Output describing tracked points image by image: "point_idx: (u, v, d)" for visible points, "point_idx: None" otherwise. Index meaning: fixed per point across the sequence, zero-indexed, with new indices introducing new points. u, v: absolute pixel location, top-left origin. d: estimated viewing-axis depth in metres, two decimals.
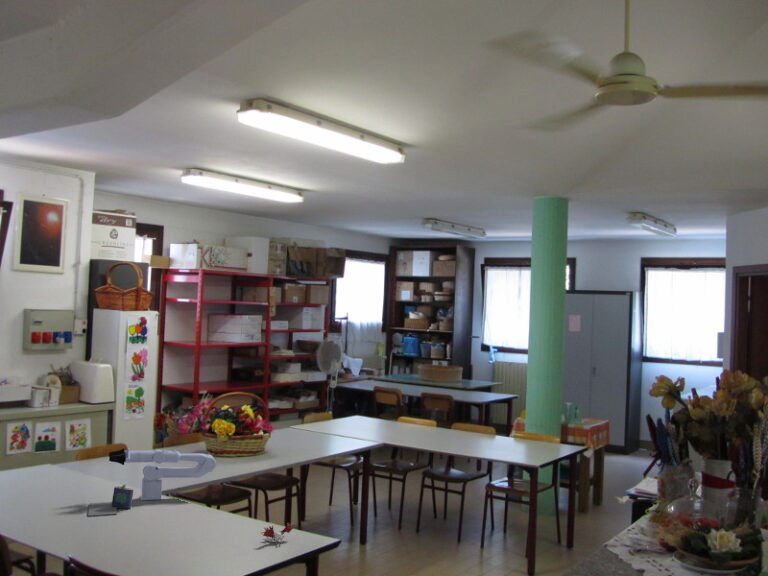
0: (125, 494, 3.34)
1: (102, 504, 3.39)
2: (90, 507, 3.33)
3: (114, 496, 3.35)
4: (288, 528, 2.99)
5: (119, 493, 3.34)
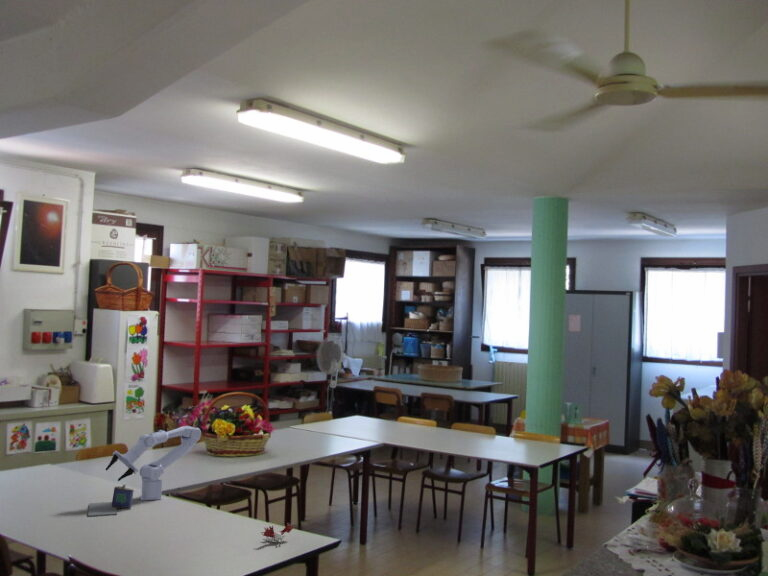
0: (125, 494, 3.34)
1: (102, 504, 3.39)
2: (90, 507, 3.33)
3: (114, 496, 3.35)
4: (288, 528, 2.99)
5: (119, 493, 3.34)
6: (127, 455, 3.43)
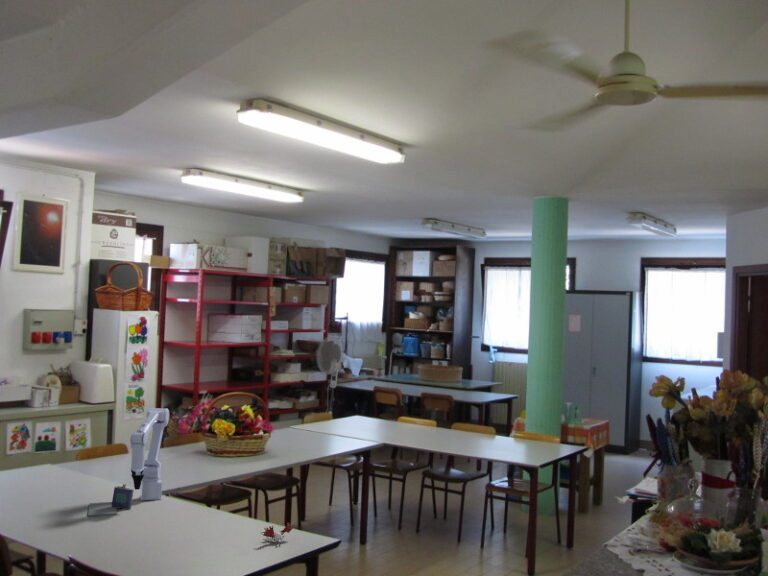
0: (125, 494, 3.34)
1: (102, 504, 3.39)
2: (90, 507, 3.33)
3: (114, 496, 3.35)
4: (288, 528, 2.99)
5: (119, 493, 3.34)
6: (143, 465, 3.38)
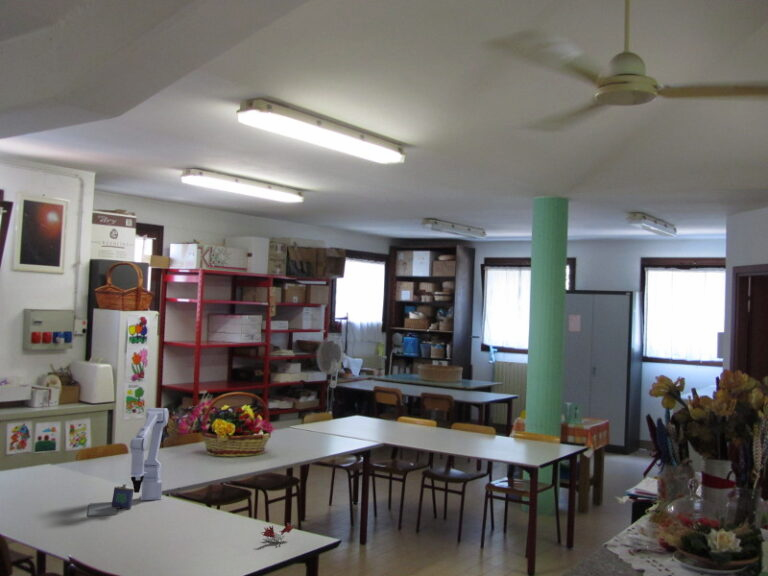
0: (125, 494, 3.34)
1: (102, 504, 3.39)
2: (90, 507, 3.33)
3: (114, 496, 3.35)
4: (288, 528, 2.99)
5: (119, 493, 3.34)
6: (143, 470, 3.38)
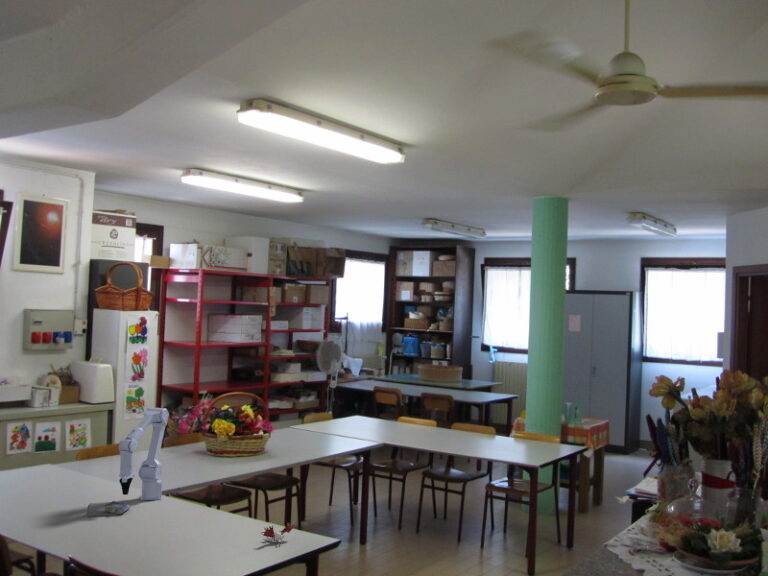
0: None
1: (102, 504, 3.39)
2: (90, 507, 3.33)
3: None
4: (288, 528, 2.99)
5: None
6: (131, 472, 3.36)
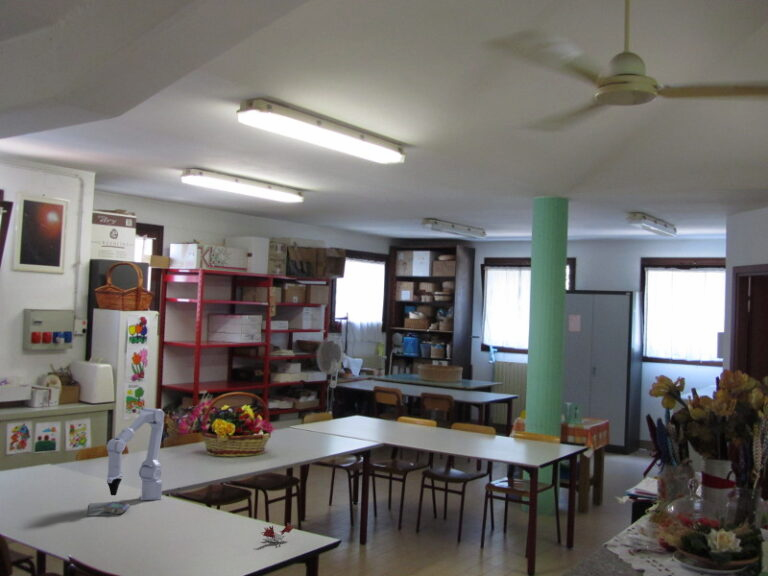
0: None
1: (102, 504, 3.39)
2: (90, 507, 3.33)
3: None
4: (288, 528, 2.99)
5: None
6: (119, 473, 3.33)
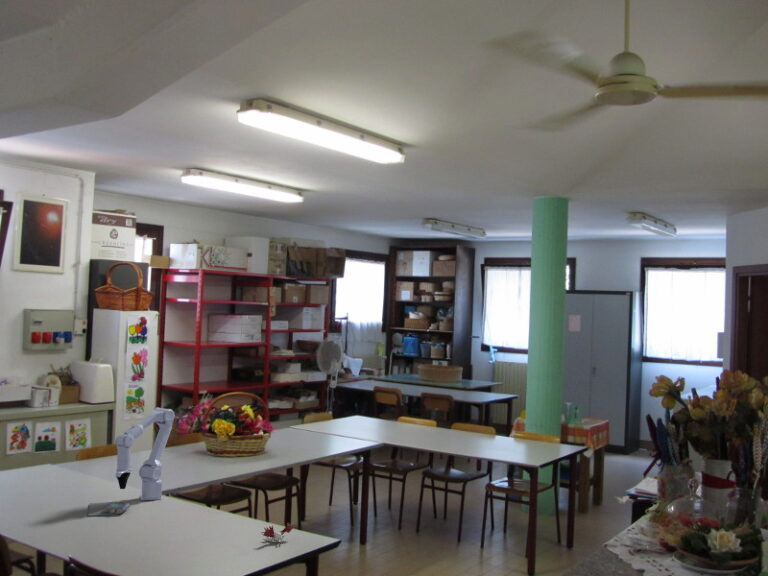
0: None
1: (102, 504, 3.39)
2: (90, 507, 3.33)
3: None
4: (288, 528, 2.99)
5: None
6: (127, 467, 3.39)
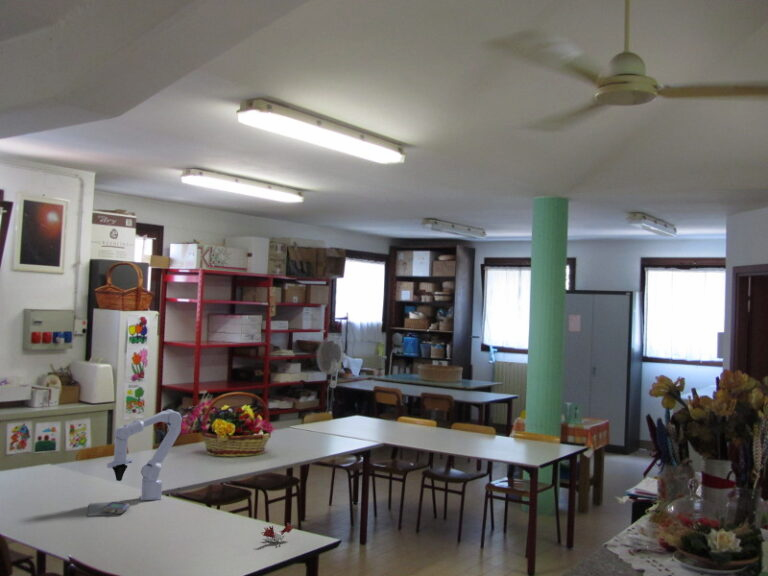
0: None
1: (102, 504, 3.39)
2: (90, 507, 3.33)
3: None
4: (288, 528, 2.99)
5: None
6: (122, 459, 3.44)
